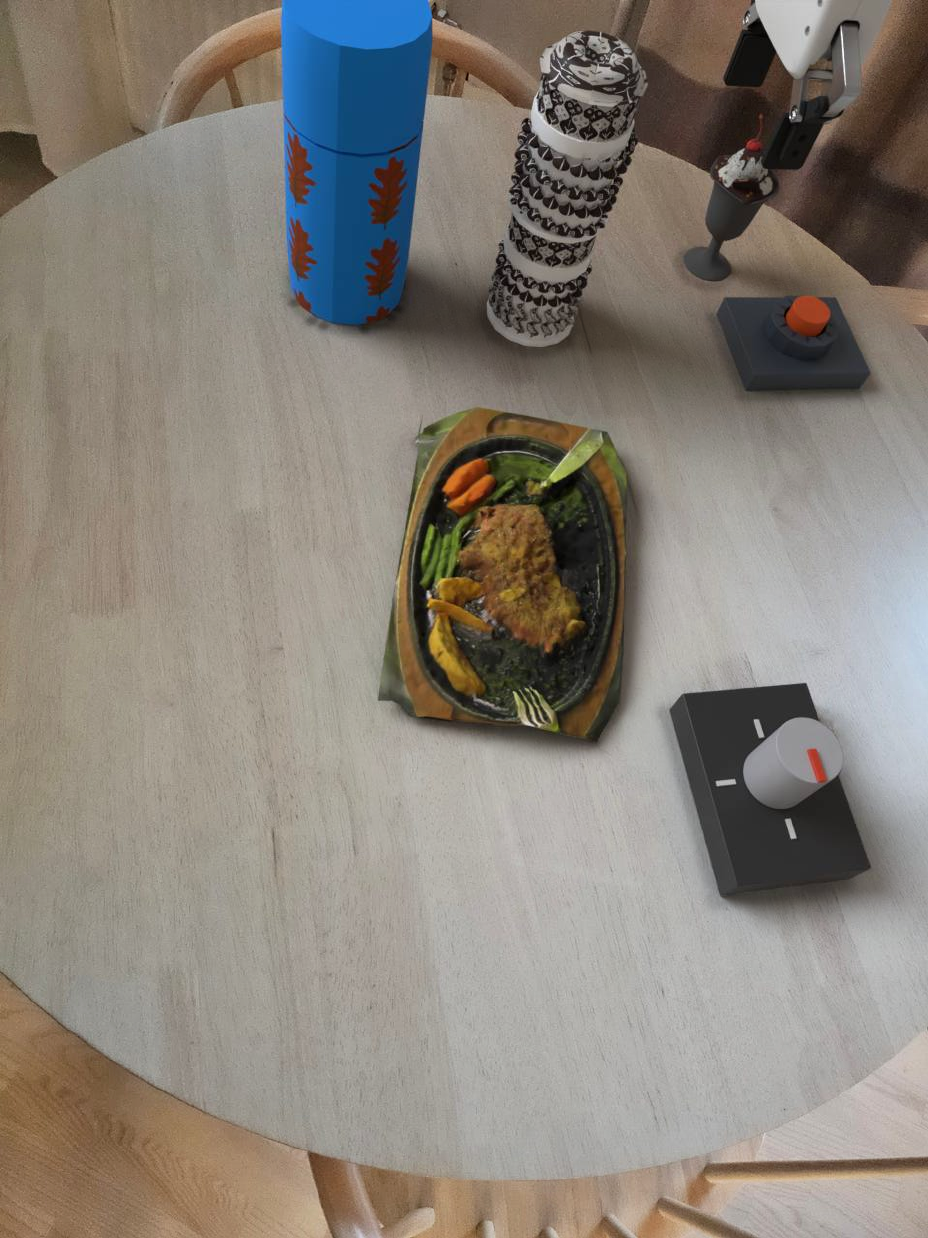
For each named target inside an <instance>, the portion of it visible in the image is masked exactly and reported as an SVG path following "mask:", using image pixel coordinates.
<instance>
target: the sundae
mask: <svg viewBox="0 0 928 1238" xmlns="http://www.w3.org/2000/svg"><path fill="white" fill-rule="evenodd" d="M758 118H759V123H760V128H759V132H758V134H757V136H756V137H755V138H752V139H750V140H748V141H747V142H746V146H745V147H744V148H742V149H741V148H740V149H739V150H737V151H736V152H735V153H734V154H724V155H719V156H718V157H716V159H715V160H714V162H713V163H712V165H711V167H710V171H709V177H710V179H711V180H712V181H713V186H712V190H711V195H710V198H709V201H708V205H707V209H706V214H705V219H704V221H705V223H704V224H705V227H706V228H707V231H708V232H709V234H710V235H711V237H712V238H711V239H710V242H709V244H708V245H707V246H694V247H692V248H690V249H688V250H686V252H685V253H684V255H683V264H684V266H685V268H686V270H688V271H689V273H691V274H692V275H693V276H694V277H696V278H699V279H701V280H704V281H708V282H719V281H722V280H725V279H726V278H727V277H728V276H729V275H730V273H731V264H730V262H729V260H728V258H727V257H726V256H725V255H723V253H721V251H720V250H721V248H722V246H723V244H724V242H727V241H732V240H735V239H737V238H739V237H740V236H742V235H743V233H744V232H745V231H746V229H747V228H748V227H749V226H750V225H751V223H752V222H753V220H754V218H755V217H756V216H757V214H758V212H759V211H760V209H761V207H762V206H763V205H764V203H766V201H769V200H771V199H773V198H775V197H777V195H778V194H779V193H780V181H779V178H778V176H777V174H776V172H775V171H774V169H764V168H763V166H762V164H761V158H762V156H763V154H764V152H765V151H763V150H762V147H763V144H762V141H761V139H762V136H763V132H764V125H763V118H764V114H763V113H760V114H759V116H758Z"/></svg>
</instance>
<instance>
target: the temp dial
mask: <svg viewBox="0 0 928 1238" xmlns="http://www.w3.org/2000/svg"><path fill="white" fill-rule="evenodd" d="M843 751H844V750H843V747H842V745H841V743H840V740H839V739H838V737H837V736H836V734H835V733H834V732H833V731H832V730H831V729H830V728H829V727H828V726H826V725H825V724H824V723H822V722H821V721H820V722H818V721H816V720H814V719H810V718H803V717H802V718H794V719H791V720H789V721H787V722H786V723H784V724H783V725H782V726H781V727H780V728H778V729H777V730H776V731H775V732H774V733H773V734H772V735H771V736H769V737H768V738H767V739H766V740H765V741H764V742H763V743H761V744H760V745H759V746H758V747H757V748H756V749H755V750H754V751H752V752H751V753H750V754H749V755H748V757H747V758H746V760H745V763H744V768H743V775H744V780H745V783H746V786H747V788H748V789H749V791H750V792H751V794H752V795H753V796H754V797H755V798H756V799H757V800H758V801H760V802H761V803H763V804H764V805H766V806H768V807H771V808H775V809H787V808H791V807H793V806H795V805H797V804H798V803H799V802H801V801H802V800H804V799H805V798H807V797H808V796H810V795H811V794H812V793H814V792H815V791H817V790H818V789H820V788H821V787H823V786H824V785H825V784H827V783H828V782H830V781H831V780H833V779H834V778H835V777H836V776H837V775H838V774H839V775H840V772H841V771H842V769H843V764H844V752H843Z"/></svg>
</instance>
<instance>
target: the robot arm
mask: <svg viewBox="0 0 928 1238" xmlns="http://www.w3.org/2000/svg"><path fill="white" fill-rule="evenodd" d="M893 1H894V0H750V6H748V8H746V10H745V11H744V13H743V16H742V26H743V28H745V29H743V28H742V29H741V31H740V33H739V35H738V38H737V40H736V43H735V46H734V48H733V51H732V54H731V57H730V58H729V61H728V64H727V67H726V69H725V72H724V74H723V77H722V80H723V83H724V84H725V86H726V87H741V88H760V87H762V86H763V84H764V82H765V79H766V77H767V76H768V73H769V70H770V68H771V66H772V64H773V61H774V59H775V57H776V54H777V56H778V57H779V59H780V61H781V63H782V65H783V66H784V68H785V69H786V71H787V73H788V74H789V75H791V77H792V78H793V79H792V87H791V95H790V102H789V103H790V105H789V111H788V112H782V113H781V114H780V117H779V119H778V121H777V123H776V126H775V128H774V129H773V133H772V134H771V137H770V139H769V141H768V143H767V145H766V148H765V150H764V151H763V152H764V154H763V156H762V158H761V164H762V166H763V168H764V169H773V170H783V171H784V170H785V171H797V170H800V169H801V168H803V167H804V165H805V162H806V161H807V159H808V156H809V155H810V153H811V151H812V149H813V147H814V145H815V144H816V141H817V140H818V137H819V135H820V133H821V131H822V130H823V127H824V125H829V124H831V123H832V122H833V120H835V119H838V118H840V117H842V115H843V113H844V112H845V110H846V109H847V108H848V107H849V106H850V105H851V104H852V103H854V102H855V101H856V100H857V99H858V98H859V96H860V95H861V93H862V89H863V81H862V80H863V79H862V67H864V64H865V62H866V60H867V58H868V57H869V54H870V52H871V50H872V48H873V46H874V43H875V42H876V39H877V38H878V35H879V33H880V30H881V28H882V27H883V24H884V22H885V20H886V18H887V15H888V13H889V11H890V8H891V6H892V4H893ZM817 62H826V67H825V68H809V67H810V65H812V66H815V65H816V64H817ZM810 82H811V83H812V82H815V83H821V90H820V95H818V96H816V97H813V98H811V99H808V94H809V93H808V91H809V86H810V85H809V83H810Z"/></svg>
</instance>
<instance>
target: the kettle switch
mask: <svg viewBox="0 0 928 1238" xmlns="http://www.w3.org/2000/svg"><path fill="white" fill-rule="evenodd" d="M800 296H801V297H798V298H797V299H796V300H795V301H794V302H793V304H792V306H791V308H790V309H789V311H788V313H787V315H786V323H787V325H788V326H789V327H790V328H791V329H792V330H793V331H795V332H796V333H798V334H801V335H804V336H806V337H815V336H817V335H819V334H820V333H821V331H822V330H823V328H824V326H825V325H826V323H827V322H828V320H829V319H830V310H829V308H828V306H827V305H826V304H825V303H824V302H822V301H821V300H819V299H817V298H815V297H816V296H811V295H800Z"/></svg>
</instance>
